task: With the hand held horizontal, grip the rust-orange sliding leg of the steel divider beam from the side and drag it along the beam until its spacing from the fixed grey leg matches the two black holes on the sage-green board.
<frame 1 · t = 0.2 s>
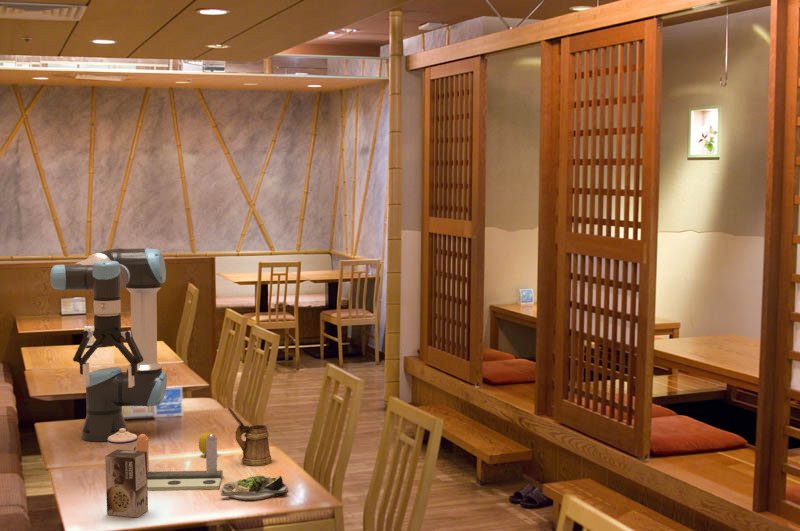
hand: (108, 386, 280), 28 cm above the table, tool pointing down, fingers open, 13 cm apart
sliding leg: (142, 453, 281), point 8 cm above the table, slide at 0.0 cm
lemon: (207, 456, 307), on the table
coffee box: (127, 513, 254), on the table
hole board: (176, 486, 276), on the table
wooden mug: (249, 463, 300), on the table
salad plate: (256, 492, 273), on the table
teacup with lid: (123, 465, 297), on the table
divider beam: (175, 479, 283), on the table
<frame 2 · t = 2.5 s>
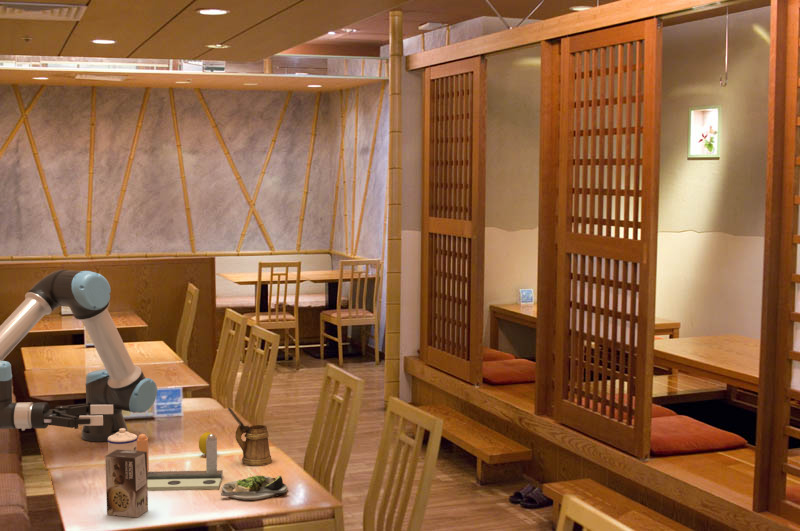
hand: (108, 414, 279), 20 cm above the table, tool horizontal, fingers open, 13 cm apart
nothing on the table moved.
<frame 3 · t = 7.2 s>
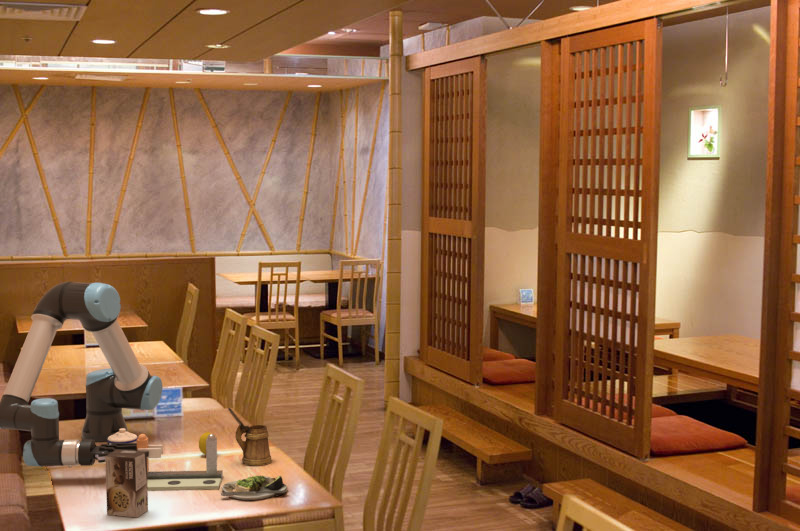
hand: (161, 451, 281), 8 cm above the table, tool horizontal, fingers closed on sliding leg, 3 cm apart
sliding leg: (142, 453, 281), point 8 cm above the table, slide at 0.0 cm, touching gripper
everything else where it was.
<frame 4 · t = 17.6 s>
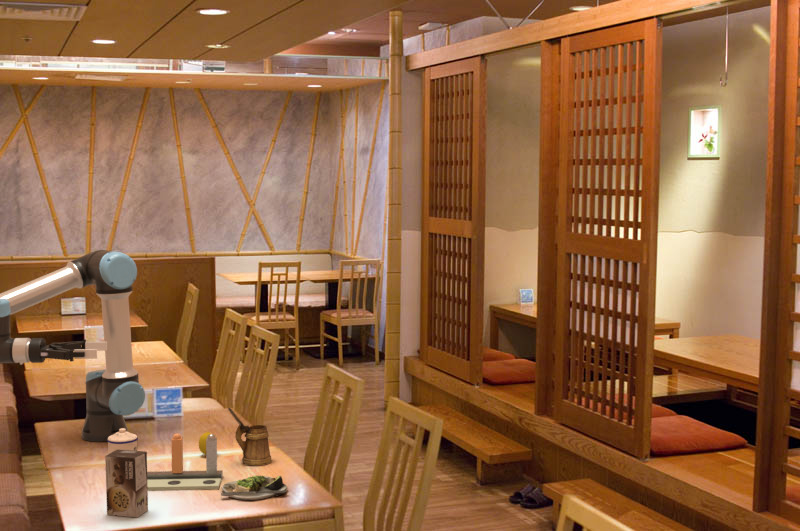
hand: (102, 349, 293), 36 cm above the table, tool horizontal, fingers open, 13 cm apart
sliding leg: (177, 452, 282), point 8 cm above the table, slide at 10.0 cm
everything else where it was.
at the end: sliding leg slide at 10.0 cm; the gripper is holding nothing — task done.
